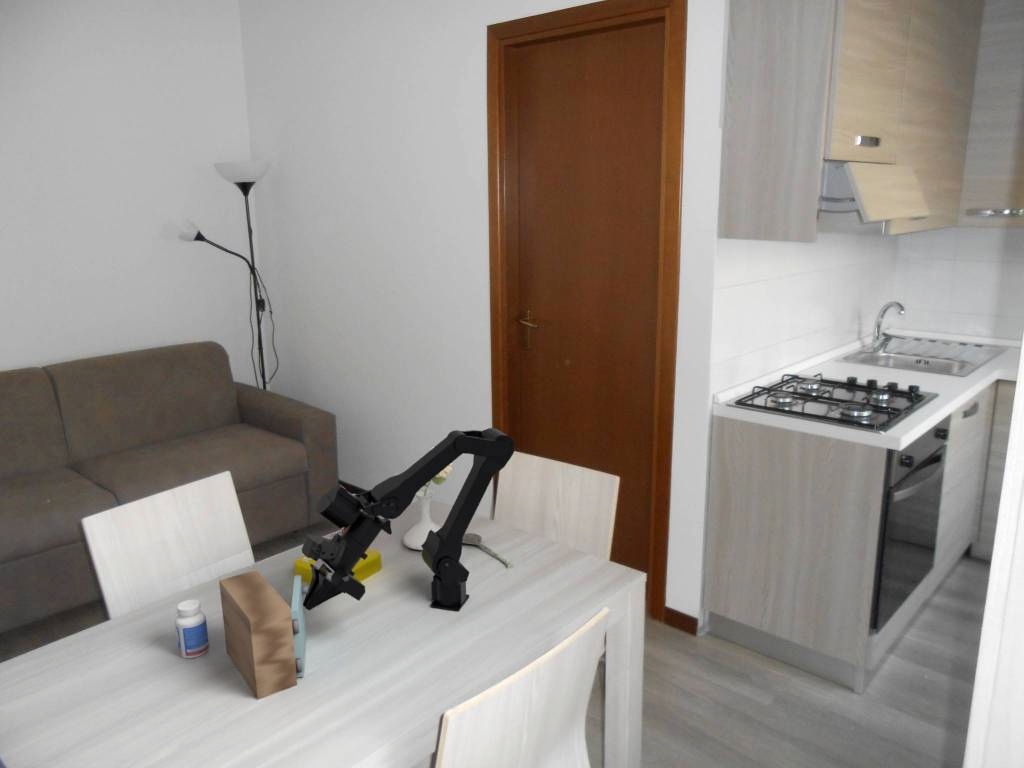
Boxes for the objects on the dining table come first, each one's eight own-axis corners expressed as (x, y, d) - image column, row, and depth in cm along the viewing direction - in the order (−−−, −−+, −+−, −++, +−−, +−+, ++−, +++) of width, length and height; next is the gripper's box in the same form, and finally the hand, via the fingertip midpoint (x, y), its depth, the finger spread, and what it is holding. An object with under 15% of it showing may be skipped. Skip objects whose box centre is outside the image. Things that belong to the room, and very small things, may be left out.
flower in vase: (412, 558, 189) (408, 458, 183) (396, 541, 198) (392, 445, 193) (462, 547, 194) (459, 450, 189) (444, 530, 204) (441, 438, 199)
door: (310, 679, 141) (304, 612, 138) (296, 681, 140) (290, 614, 137) (312, 635, 155) (307, 574, 152) (299, 636, 154) (294, 575, 152)
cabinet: (263, 640, 154) (256, 569, 150) (297, 685, 139) (290, 607, 136) (226, 652, 150) (219, 580, 146) (257, 699, 135) (250, 620, 132)
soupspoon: (471, 538, 202) (449, 545, 199) (470, 525, 202) (448, 533, 198) (522, 566, 185) (499, 574, 181) (521, 552, 184) (497, 561, 180)
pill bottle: (215, 646, 152) (210, 600, 150) (196, 661, 147) (190, 613, 145) (192, 641, 154) (187, 595, 152) (172, 656, 149) (166, 609, 147)
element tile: (385, 569, 184) (384, 550, 183) (339, 595, 172) (338, 575, 171) (338, 555, 192) (337, 536, 191) (291, 579, 180) (289, 560, 179)
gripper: (308, 505, 158) (258, 570, 155) (346, 536, 143) (291, 609, 140) (347, 532, 164) (300, 595, 161) (387, 565, 149) (336, 635, 146)
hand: (305, 607), depth 152 cm, fingers closed
